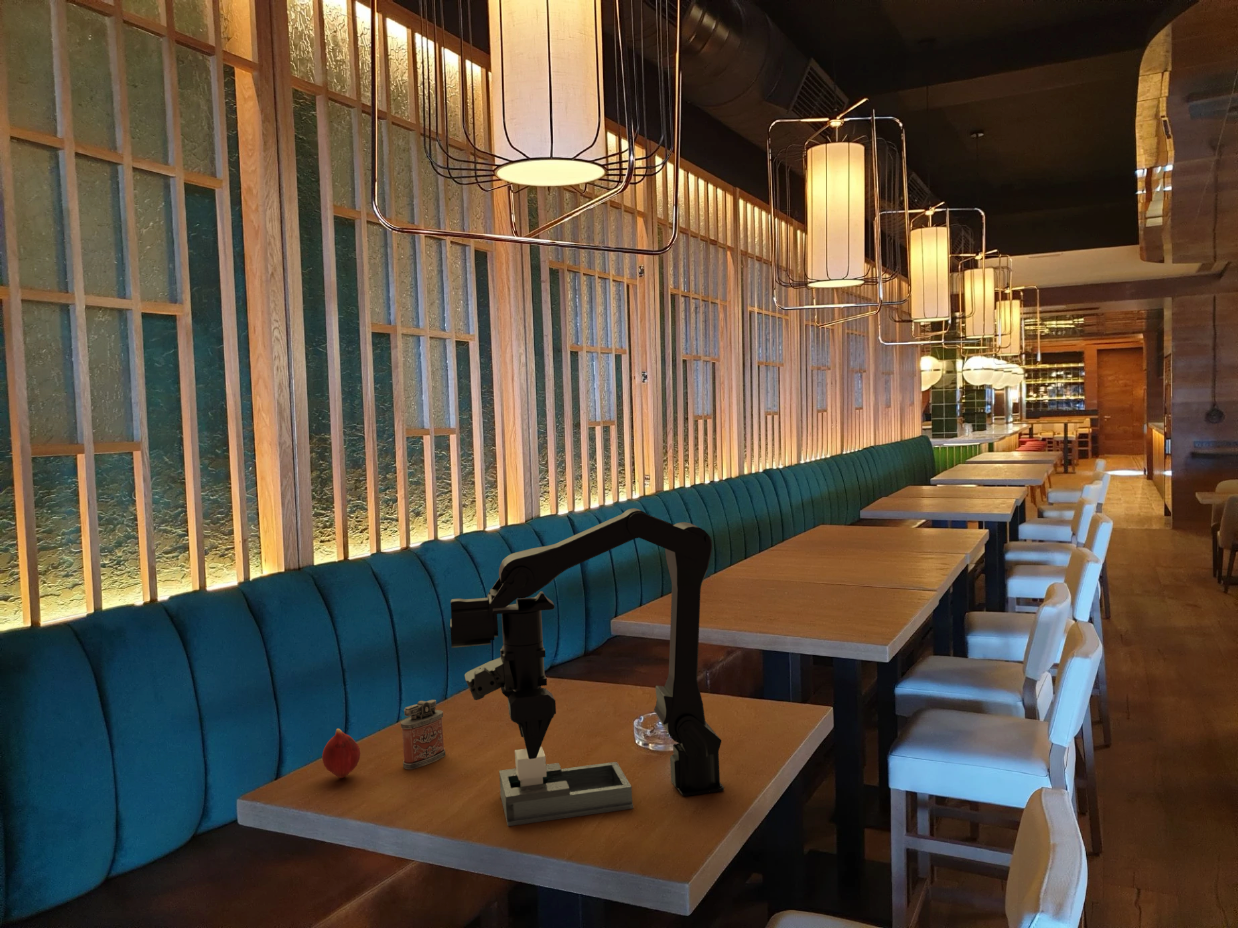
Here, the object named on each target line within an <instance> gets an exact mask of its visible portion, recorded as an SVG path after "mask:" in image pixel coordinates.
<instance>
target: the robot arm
mask: <svg viewBox="0 0 1238 928" xmlns="http://www.w3.org/2000/svg"><path fill="white" fill-rule="evenodd" d="M635 539H641V540H643V541H646V542H649V543H651V544H653V545H656V546H658V547H661V548H663V549H664V550H665V551H664V552H665V559H666V564H667V568H668V572H669V576H670V580H671V602H670V603H671V604H670V605H671V606H670V631H669V632H670V633H669V657H668V659H669V661H668V676H667V679H666V681H665V684H664V686H663V685H655V695H656V702H655V707H654V708H653V712H655V714H656V715H657V717H658V720H659V722H660V723H661V725H662V727H663V728H664V729H665V731H666V732H667V734H668V735H669V737H670V738H671V739H672V740H673V741H674V742H676V743H673V744H672V749H673V751H672V752H673V754H672V755H670V757H669V760H670V763H669V764H670V765H669V766H670V782H671V784H672V785H673V786H674V788H676V789H677V790H678V792H679V794H680V795H681V796H684V797H686V796H687V797H688V796H694V795H696V796H697V795H701V794H709V793H715V792H716V793H717V792H723V791H725V786H724V785H723V784H722V783H721V777H720V773H721V772H720V755H719V753H720V752H719V751H720V748H721V745H722V739H721V738H720V737H719V736H718V734H717V733H716V732H715V731H714V729H713V728H712V727H711V726H710V725H709V723H708V722H707V721H706V717H705V710H704V703H703V699H702V694H701V691H700V690H701V689H700V685H699V681H698V673H699V672H698V670H699V668H698V667H699V646H700V645H699V642H700V641H699V640H700V620H701V619H700V616H701V615H700V614H701V592H702V591H701V590H702V589H701V588H702V584H703V583H704V580H705V578H706V574H707V573H708V570H709V565H710V561H711V556H712V552H713V542H712V538H711V536H710V535H709V533H708V532H707V531H706V530H705V529H703V528H702V527H699V526H697V525H695V524H693V523H690V522H685V521H683V522H682V521H681V522H677V523H675V524H673V523H671V522H668V521H666V520H663V519H660V518H658V517H655V516H653V515H650V514H648V513H646V512H644V511H643V510H641V509H638V508H636V507H635V508H628V509H627V510H625V511H624V512H623V513H622V514H619V515H616V516H615V517H611V518H610V519H608V520H606V521H603V522H601V523H599V524H597V525H595V526H592V527H590V528H587V529H586V530H583V531H581V532H579V533H576V534H574V535H572V536H570V537H568V538H565V539H563V540H560V541H559V542H557V543H554V544H549V545H545V546H538V547H534V548H533V547H532V548H529V549H524V550H520V551H517V552H512V553H510V554H509V555H507V556H506V557H504V559H502V561H501V563H500V565H499V568H498V576H499V577H498V579H497V580H496V582H495V583H494V584H493V586H492V587H491V588H490V589H489V592H488V594H487V596H486V597H480V598H466V599H465V598H452V599H451V600H450V616H451V618H450V624H449V625H450V627H449V629H450V630H449V631H450V642H451V643H450V644H451V649H453V648H465V647H474V646H475V647H476V646H488V645H492V641H495V638H498V637H499V622H498V621H499V620H498V615H501V624H502V625H501V627H502V644H503V645H502V646H501V648H500V652H499V653H500V657H497V658H495V659H493V660H490V661H487V662H486V663H482V664H481V665H479V666H476V667H474V668H473V669H472V668H471V670H468V671H467V672H465V674H464V679H465V683H466V684H467V687H468V689H469V691H470V694H471V696H472V699H473V700H474V701H479V700H482V699H484V698H485V697H486V695H488V694H490V693H493V692H494V691H495V692H496V691H497V690H499V689H500V690H501V693H502V695H504V697H506V698H507V705H508V706H507V707H508V708H507V709H508V716H509V718H510V720H511V721H512V723H515V724H517V726H518V730H519V734H520V737H522V738H523V740H524V746H525V749H526V750H527V754H528V758H529V759H535V758H536V757H537V755H538V752H539V750H540V747H542V744H543V742H544V739H545V736H546V734H547V731H548V729H549V726H550V724H551V721H552V720H553V719H554V718H555V715H556V714H557V708H556V707H557V706H556V699H555V697H554V695H553V693H552V692H551V691H550V690H548V689H547V688H546V687H545V686H547V685H548V682H547V681H548V679H547V678H548V677H546V674H545V660H544V658H546V657H547V656H546V649H545V647H544V639H543V619H542V611H551V610H552V611H553V610H555V607H556V606H555V604H554V602H553V600H551V599H550V598H548V597H547V596H546V594H545V593H544V591H543V590H542V591H540V590H541V589H543V588H545V587H546V586H547V585H549V584H551V583H552V582H553V580H555V579H556V578H557V577H558V576H560V575H561V574H563V573H564V572H565V571H567V570H569V569H571V568H573V567H575V566H577V565H580V564H582V563H585V562H586V561H589V560H591V559H594V558H595V557H598V556H600V555H603V554H604V553H606V552H609V551H611V550H614V549H615V548H618V547H620V546H622V545H624V544H627V543H629V542H632V541H633V540H635ZM538 591H539V593H538V594H537V595H535V594H536V593H537V592H538ZM532 595H535V596H534V597H532ZM515 600H516V601H515ZM514 601H515V602H516V603H513V602H514Z"/></svg>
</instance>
